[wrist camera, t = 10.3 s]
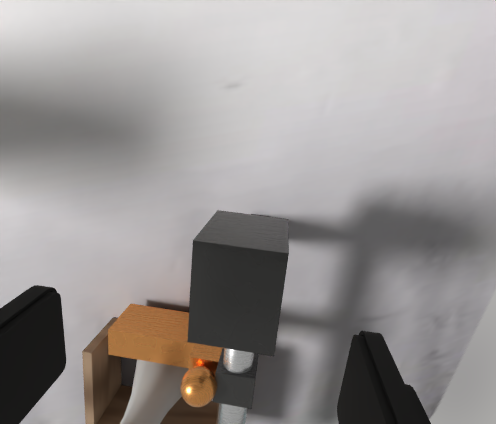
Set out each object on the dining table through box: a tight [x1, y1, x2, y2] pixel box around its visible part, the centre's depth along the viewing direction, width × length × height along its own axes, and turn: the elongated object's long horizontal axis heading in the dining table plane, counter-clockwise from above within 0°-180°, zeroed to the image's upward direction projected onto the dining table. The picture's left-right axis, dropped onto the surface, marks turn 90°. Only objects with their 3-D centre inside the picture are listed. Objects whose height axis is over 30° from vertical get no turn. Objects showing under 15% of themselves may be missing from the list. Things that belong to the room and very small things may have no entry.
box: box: [82, 318, 219, 424], centre depth 30 cm, size 9×13×5 cm
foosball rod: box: [108, 210, 289, 424], centre depth 23 cm, size 23×13×13 cm, turn 174°
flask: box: [120, 360, 189, 424], centre depth 27 cm, size 7×7×10 cm
